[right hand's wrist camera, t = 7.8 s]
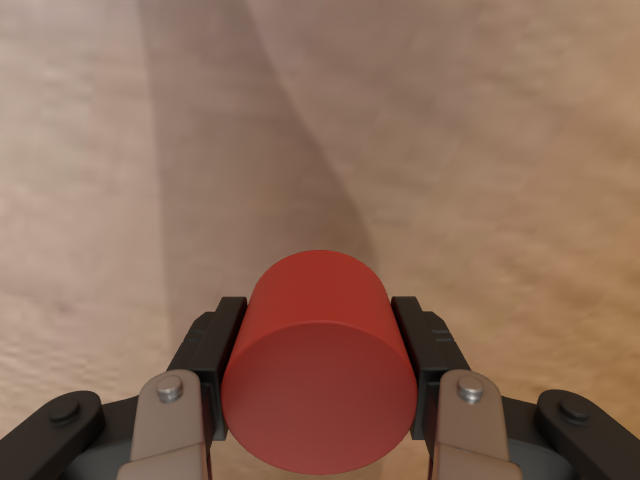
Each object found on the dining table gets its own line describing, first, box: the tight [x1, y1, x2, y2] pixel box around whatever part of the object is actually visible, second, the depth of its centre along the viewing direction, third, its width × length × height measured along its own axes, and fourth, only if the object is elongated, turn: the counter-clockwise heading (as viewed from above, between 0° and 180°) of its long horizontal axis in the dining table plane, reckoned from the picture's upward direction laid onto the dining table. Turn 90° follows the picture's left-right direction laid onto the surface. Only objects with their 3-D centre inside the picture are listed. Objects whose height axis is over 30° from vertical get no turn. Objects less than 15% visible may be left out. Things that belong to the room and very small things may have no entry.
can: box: [220, 250, 418, 475], centre depth 11 cm, size 5×5×4 cm
